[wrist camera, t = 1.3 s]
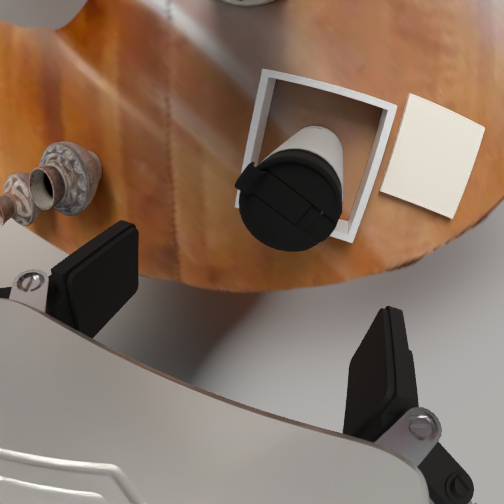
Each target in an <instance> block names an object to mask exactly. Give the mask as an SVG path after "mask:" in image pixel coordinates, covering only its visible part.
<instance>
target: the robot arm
mask: <svg viewBox="0 0 504 504" xmlns="http://www.w3.org/2000/svg"><path fill="white" fill-rule="evenodd" d="M222 1H224V2H226V3H230V4H233V5H239V6H256V5H262V4H266V3H269V2H272V1H275V0H243V1H241V0H222ZM138 238H139V232H138V230H137V229H136V226H135V225H134V224H132V223H129V222H126V221H123V220H121V221H119V222H117V223H116V224H114V225H113V226H111V227H110V228H108V229H107V230H105V231H104V232H102V233H101V234H99V235H98V236H96V237H95V238H93V239H92V240H91V241H89V242H88V243H86V244H85V245H83V246H82V247H81V248H79V249H78V250H76V251H75V252H73V253H72V254H71V255H69V256H68V257H67V258H65V259H64V260H63V261H61V262H60V263H58V264H57V265H56V266H54V267H53V268H52V269H51V273H52V274H51V275H50V276H49V277H48V275H47V274H46V273H45V272H43V271H41V270H28V271H25V272H23V273H21V274H19V275H18V276H17V277H16V278H15V280H14V282H13V285H12V287H6V288H0V504H472V502H471V499H472V497H473V492H474V487H473V482H472V480H471V478H470V476H469V475H468V474H467V473H466V472H465V470H464V469H463V468H462V467H461V466H460V465H459V464H458V463H457V462H456V461H455V460H454V458H452V456H451V455H450V454H449V453H448V452H447V451H446V450H445V449H444V448H443V446H442V445H441V444H440V443H439V442H438V441H439V439H440V437H441V432H442V428H441V424H440V422H439V420H438V418H437V417H436V415H435V414H434V413H432V412H431V411H430V410H428V409H425V408H423V407H419V405H418V395H417V386H416V378H415V369H414V361H413V355H412V351H410V350H409V348H408V343H407V342H408V341H407V335H406V329H405V323H404V317H403V312H402V310H400V309H397V308H394V307H390V306H387V307H386V308H385V309H383V308H381V309H380V310H379V312H378V313H377V315H376V317H375V319H374V321H373V323H372V325H371V326H370V328H369V330H368V332H367V334H366V335H365V337H364V339H363V340H362V342H361V344H360V346H359V347H358V349H357V351H356V352H355V354H354V356H353V357H352V359H351V362H350V365H349V376H348V388H347V400H346V410H345V418H344V428H343V434H342V433H339V432H334V431H331V430H327V429H323V428H319V427H315V426H312V425H308V424H305V423H301V422H298V421H295V420H291V419H288V418H284V417H281V416H278V415H274V414H271V413H268V412H265V411H261V410H259V409H255V408H253V407H249V406H246V405H244V404H241V403H238V402H235V401H232V400H229V399H226V398H224V397H221V396H219V395H216V394H213V393H211V392H208V391H205V390H203V389H200V388H198V387H195V386H192V385H190V384H188V383H185V382H183V381H181V380H178V379H176V378H173V377H171V376H169V375H167V374H164V373H162V372H160V371H157V370H155V369H153V368H151V367H149V366H146V365H144V364H142V363H140V362H138V361H136V360H134V359H132V358H129V357H127V356H125V355H123V354H121V353H119V352H117V351H115V350H113V349H111V348H109V347H107V346H105V345H103V344H101V343H99V342H97V341H96V340H94V339H93V337H94V336H95V335H96V334H97V333H98V332H99V331H100V330H101V329H102V328H103V327H104V326H105V325H106V323H107V322H108V321H109V320H110V319H111V318H112V317H113V316H114V315H115V314H116V313H117V312H118V311H119V310H120V309H121V308H122V306H123V305H124V304H125V303H126V302H127V301H128V300H129V299H130V298H131V297H132V296H133V295H134V294H135V293H136V291H137V289H138ZM474 504H477V503H474Z"/></svg>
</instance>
